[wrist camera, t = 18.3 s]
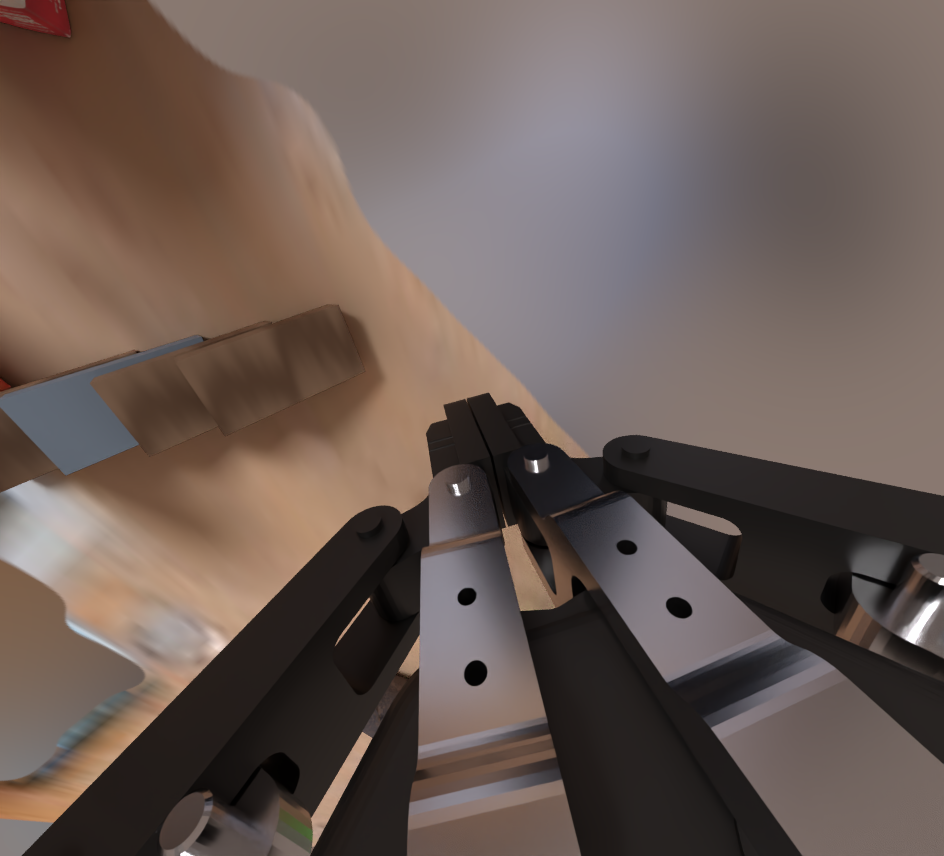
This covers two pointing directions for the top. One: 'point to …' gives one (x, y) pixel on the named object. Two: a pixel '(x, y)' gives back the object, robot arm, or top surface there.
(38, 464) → the domino
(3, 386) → the cracker box
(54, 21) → the ink box
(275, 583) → the top surface
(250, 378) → the domino
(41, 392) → the domino
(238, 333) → the domino
